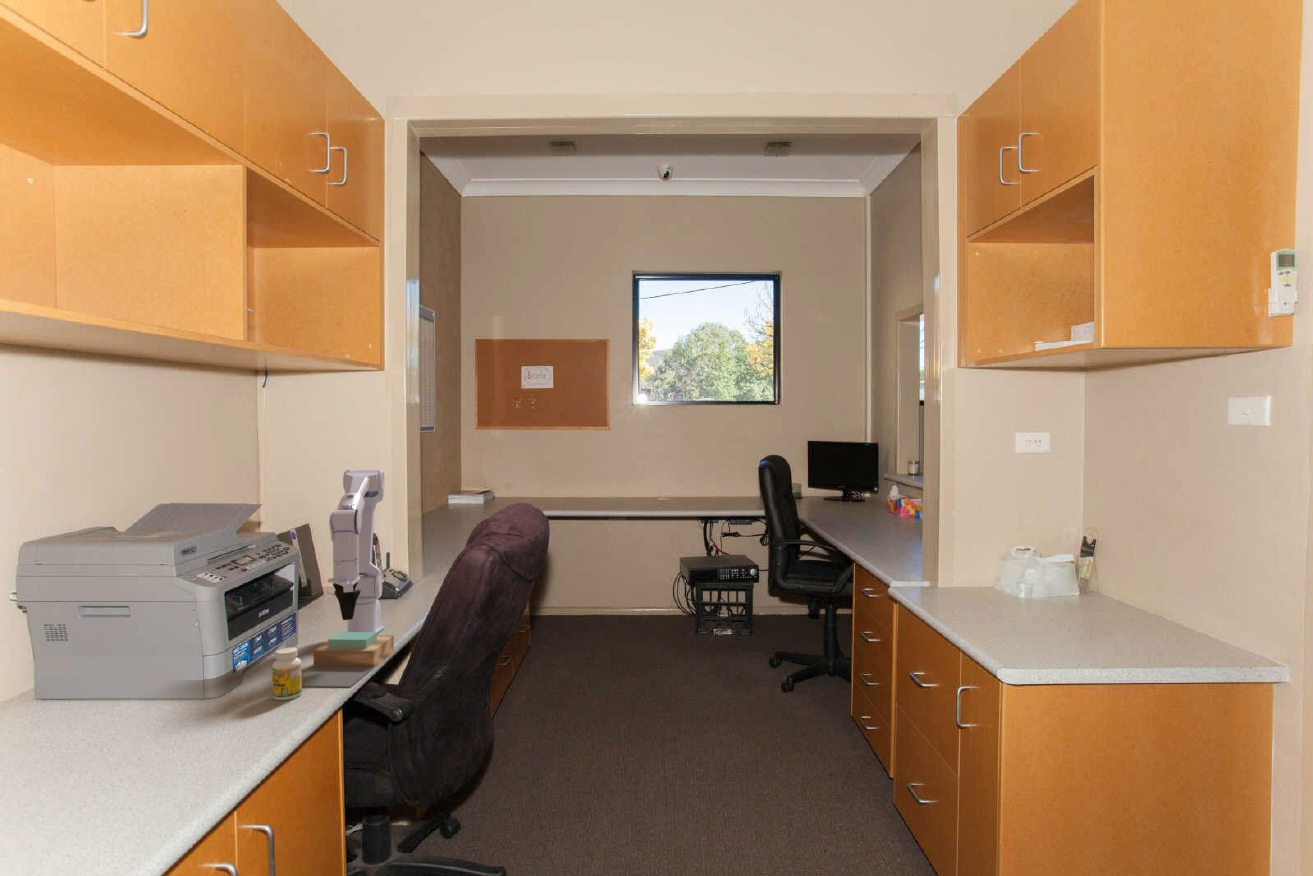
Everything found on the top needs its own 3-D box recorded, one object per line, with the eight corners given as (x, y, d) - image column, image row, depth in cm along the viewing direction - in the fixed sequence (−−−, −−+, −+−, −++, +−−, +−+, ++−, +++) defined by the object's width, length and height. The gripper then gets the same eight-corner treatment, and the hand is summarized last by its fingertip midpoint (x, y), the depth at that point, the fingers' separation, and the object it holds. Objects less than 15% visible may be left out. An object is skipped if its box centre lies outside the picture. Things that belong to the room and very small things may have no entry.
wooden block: (337, 651, 180) (337, 635, 180) (393, 651, 179) (393, 635, 179) (313, 667, 168) (313, 650, 168) (373, 668, 167) (373, 651, 167)
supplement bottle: (307, 693, 152) (307, 648, 152) (285, 702, 147) (285, 655, 147) (289, 689, 154) (288, 645, 154) (266, 698, 149) (266, 652, 149)
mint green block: (340, 640, 176) (340, 631, 176) (376, 640, 175) (376, 632, 175) (328, 647, 170) (328, 639, 170) (366, 648, 169) (366, 639, 169)
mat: (313, 667, 168) (313, 666, 168) (373, 668, 167) (373, 667, 167) (285, 687, 156) (285, 685, 156) (350, 687, 155) (350, 686, 155)
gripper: (326, 555, 179) (327, 609, 180) (329, 566, 166) (329, 625, 167) (357, 552, 182) (358, 606, 183) (362, 563, 169) (362, 621, 170)
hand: (346, 615), depth 175 cm, fingers open, 7 cm apart
